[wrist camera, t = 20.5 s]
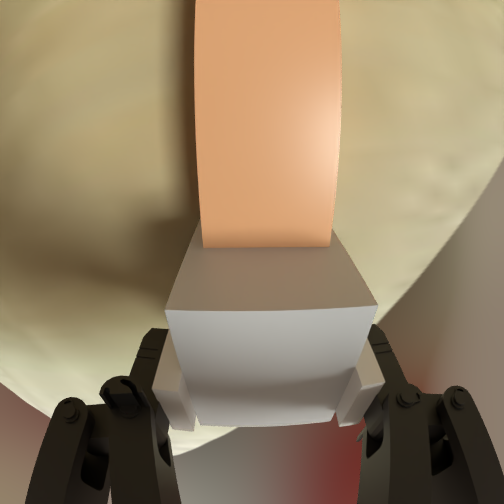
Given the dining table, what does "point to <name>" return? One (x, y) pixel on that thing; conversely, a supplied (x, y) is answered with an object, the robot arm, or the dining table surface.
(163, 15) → the dining table surface
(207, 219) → the orange bar on cube
